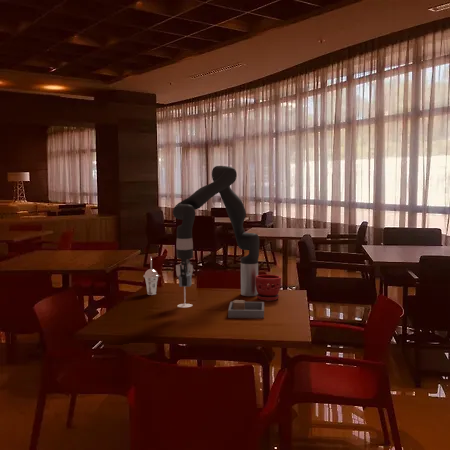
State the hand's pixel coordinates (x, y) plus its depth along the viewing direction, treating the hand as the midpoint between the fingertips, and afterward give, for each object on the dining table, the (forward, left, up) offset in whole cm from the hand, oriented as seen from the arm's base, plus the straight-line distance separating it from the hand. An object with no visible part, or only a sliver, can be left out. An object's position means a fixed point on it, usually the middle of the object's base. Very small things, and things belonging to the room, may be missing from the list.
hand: (185, 284), depth 236 cm
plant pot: (-32, +38, -14) cm, 52 cm away
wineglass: (-16, -3, -14) cm, 22 cm away
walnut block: (-3, +24, -13) cm, 28 cm away
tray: (-3, +28, -14) cm, 31 cm away
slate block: (0, 0, 0) cm, 0 cm away
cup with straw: (-40, -25, -14) cm, 49 cm away
